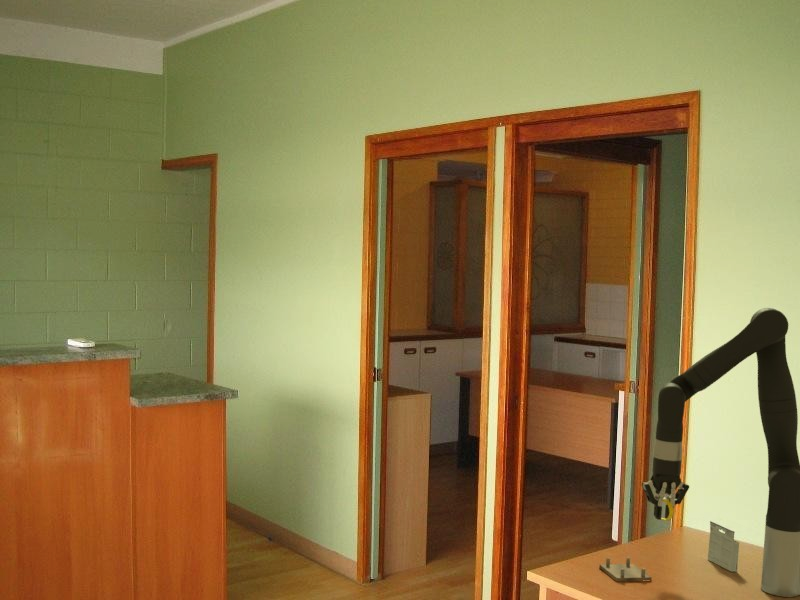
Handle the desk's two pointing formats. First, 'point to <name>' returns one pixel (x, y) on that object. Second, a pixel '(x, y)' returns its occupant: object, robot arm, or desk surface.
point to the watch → (669, 509)
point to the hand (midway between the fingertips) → (663, 518)
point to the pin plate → (624, 571)
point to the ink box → (723, 547)
